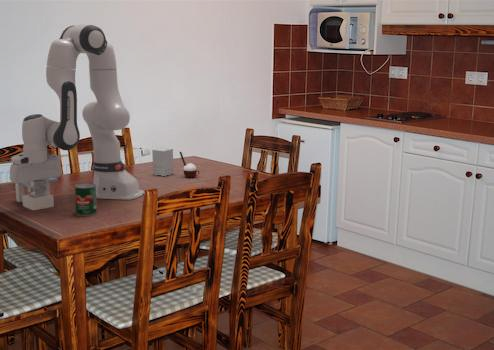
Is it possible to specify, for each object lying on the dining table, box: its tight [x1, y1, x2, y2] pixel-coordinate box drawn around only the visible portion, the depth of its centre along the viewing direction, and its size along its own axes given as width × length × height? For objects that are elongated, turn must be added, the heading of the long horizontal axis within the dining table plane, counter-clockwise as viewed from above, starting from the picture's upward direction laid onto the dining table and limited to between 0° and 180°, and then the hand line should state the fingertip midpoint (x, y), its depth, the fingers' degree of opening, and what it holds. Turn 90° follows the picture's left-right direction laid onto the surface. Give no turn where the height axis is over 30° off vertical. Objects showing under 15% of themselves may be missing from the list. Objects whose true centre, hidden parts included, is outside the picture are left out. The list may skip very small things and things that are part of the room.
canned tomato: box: [74, 182, 98, 217], centre depth 252 cm, size 8×8×11 cm
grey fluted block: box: [151, 147, 174, 177], centre depth 320 cm, size 7×7×13 cm
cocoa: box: [179, 151, 200, 178], centre depth 316 cm, size 10×6×12 cm, turn 57°
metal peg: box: [29, 180, 45, 198], centre depth 260 cm, size 4×4×9 cm
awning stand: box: [14, 177, 59, 211], centre depth 266 cm, size 18×15×9 cm
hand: (37, 191), depth 260 cm, fingers closed on metal peg, 4 cm apart
